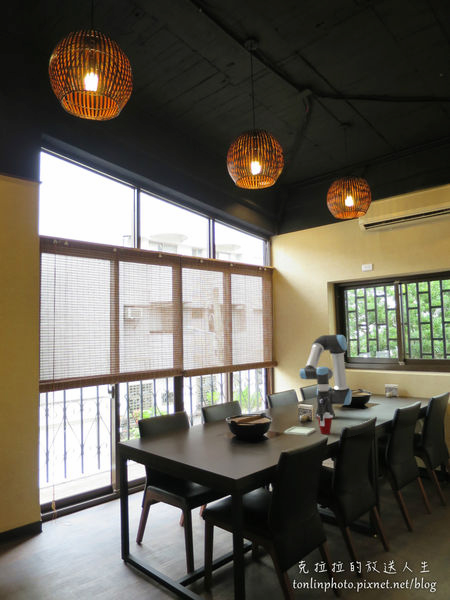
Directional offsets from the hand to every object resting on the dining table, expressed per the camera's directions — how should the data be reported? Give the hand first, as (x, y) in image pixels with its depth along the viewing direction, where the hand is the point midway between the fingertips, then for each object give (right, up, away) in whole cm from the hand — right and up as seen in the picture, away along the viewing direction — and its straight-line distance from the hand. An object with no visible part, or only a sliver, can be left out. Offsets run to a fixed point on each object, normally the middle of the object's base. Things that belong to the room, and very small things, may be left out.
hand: (325, 424), depth 279 cm
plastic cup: (0, -6, -1) cm, 6 cm away
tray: (-16, -7, +6) cm, 18 cm away
